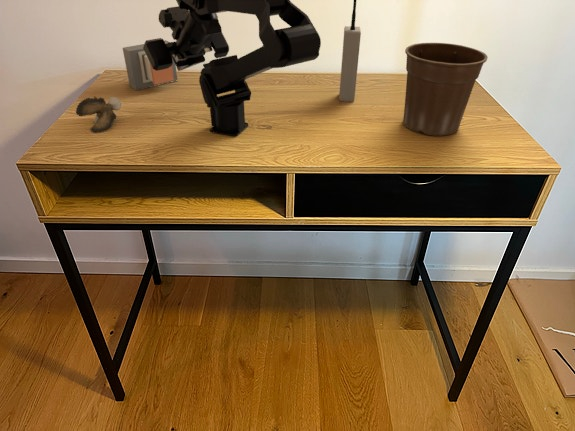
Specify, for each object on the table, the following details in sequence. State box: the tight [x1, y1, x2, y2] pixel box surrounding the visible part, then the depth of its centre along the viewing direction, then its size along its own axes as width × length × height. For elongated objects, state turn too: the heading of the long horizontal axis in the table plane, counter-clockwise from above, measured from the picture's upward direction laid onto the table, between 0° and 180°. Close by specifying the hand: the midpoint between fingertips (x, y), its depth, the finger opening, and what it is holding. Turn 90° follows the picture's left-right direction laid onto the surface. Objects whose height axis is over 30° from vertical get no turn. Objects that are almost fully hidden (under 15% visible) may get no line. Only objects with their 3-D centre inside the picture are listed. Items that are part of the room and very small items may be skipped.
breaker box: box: [122, 39, 178, 91], centre depth 121 cm, size 4×12×10 cm, turn 129°
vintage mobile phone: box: [338, 0, 362, 103], centre depth 109 cm, size 4×5×25 cm
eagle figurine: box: [75, 96, 122, 134], centre depth 101 cm, size 8×7×9 cm
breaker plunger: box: [142, 54, 174, 84], centre depth 120 cm, size 10×5×6 cm, turn 39°
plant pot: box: [402, 42, 489, 137], centre depth 99 cm, size 16×16×16 cm
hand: (178, 68), depth 109 cm, fingers closed
